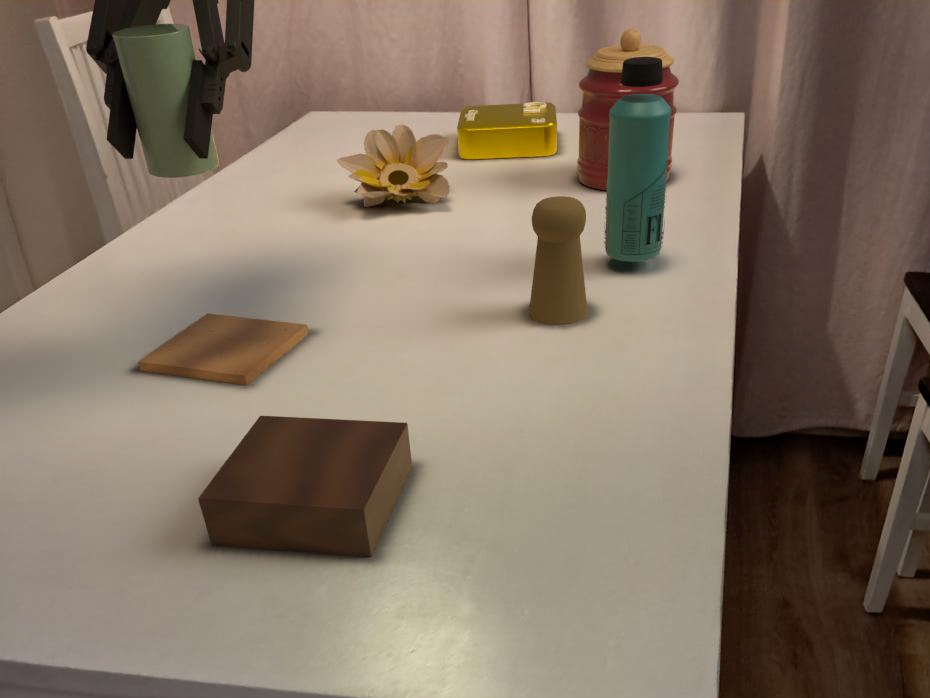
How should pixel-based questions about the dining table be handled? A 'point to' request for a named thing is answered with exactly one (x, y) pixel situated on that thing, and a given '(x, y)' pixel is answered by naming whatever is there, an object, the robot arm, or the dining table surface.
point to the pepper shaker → (558, 262)
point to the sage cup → (162, 96)
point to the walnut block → (309, 485)
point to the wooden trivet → (224, 348)
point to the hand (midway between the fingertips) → (157, 148)
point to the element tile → (507, 131)
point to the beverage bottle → (637, 165)
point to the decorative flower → (399, 167)
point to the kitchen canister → (604, 93)
